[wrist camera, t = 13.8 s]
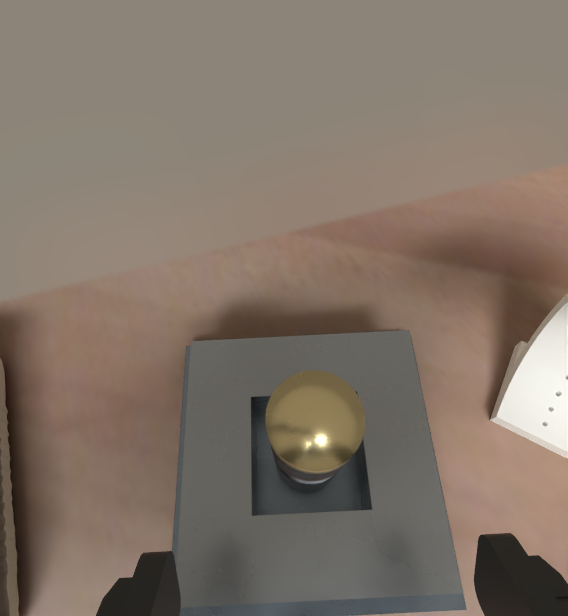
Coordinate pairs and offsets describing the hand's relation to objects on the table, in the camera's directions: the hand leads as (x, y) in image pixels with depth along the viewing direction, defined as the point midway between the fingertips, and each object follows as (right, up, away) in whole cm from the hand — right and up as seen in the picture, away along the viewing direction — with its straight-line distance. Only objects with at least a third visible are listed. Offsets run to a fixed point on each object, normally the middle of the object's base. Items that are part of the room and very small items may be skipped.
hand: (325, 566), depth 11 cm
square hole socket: (0, -1, +11) cm, 11 cm away
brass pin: (0, -1, +10) cm, 10 cm away
